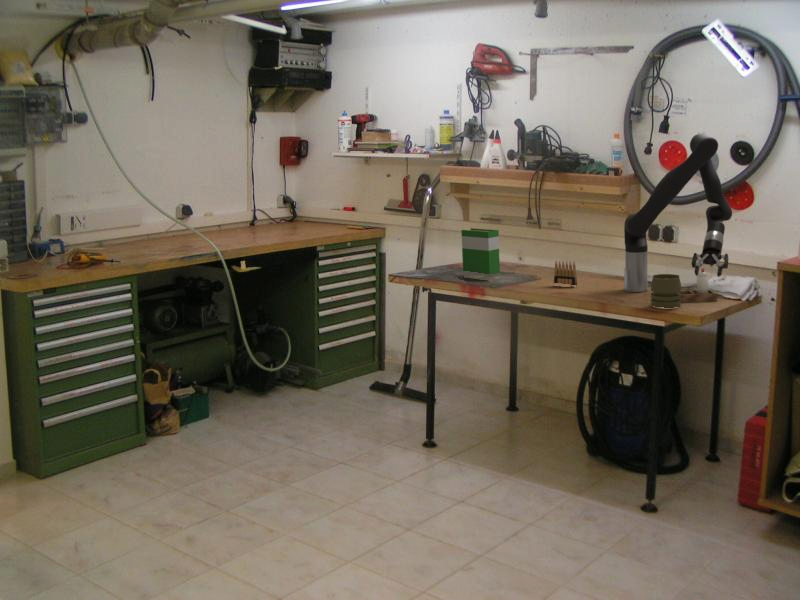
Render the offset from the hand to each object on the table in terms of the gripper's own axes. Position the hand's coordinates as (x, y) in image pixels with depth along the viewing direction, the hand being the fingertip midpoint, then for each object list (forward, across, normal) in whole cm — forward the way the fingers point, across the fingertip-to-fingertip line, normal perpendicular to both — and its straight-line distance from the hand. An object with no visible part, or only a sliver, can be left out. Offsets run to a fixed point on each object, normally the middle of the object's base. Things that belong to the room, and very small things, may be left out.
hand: (707, 275), depth 357 cm
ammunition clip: (+4, -62, +7) cm, 63 cm away
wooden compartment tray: (+14, -4, -2) cm, 15 cm away
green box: (-3, -109, +15) cm, 110 cm away
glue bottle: (+12, 0, -2) cm, 12 cm away
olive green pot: (+25, -11, -13) cm, 30 cm away
